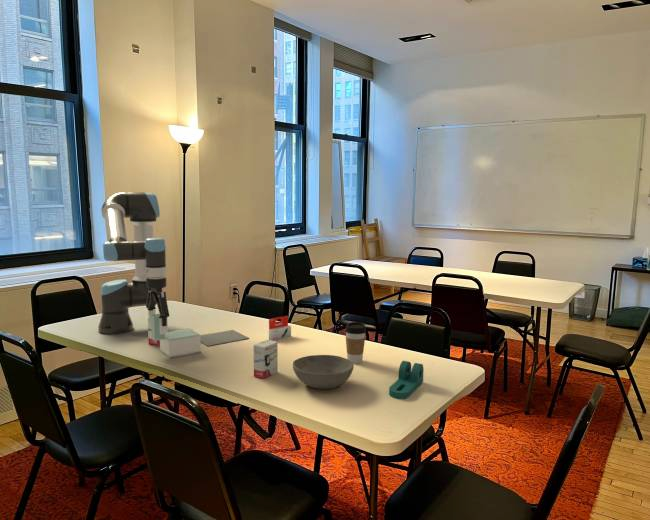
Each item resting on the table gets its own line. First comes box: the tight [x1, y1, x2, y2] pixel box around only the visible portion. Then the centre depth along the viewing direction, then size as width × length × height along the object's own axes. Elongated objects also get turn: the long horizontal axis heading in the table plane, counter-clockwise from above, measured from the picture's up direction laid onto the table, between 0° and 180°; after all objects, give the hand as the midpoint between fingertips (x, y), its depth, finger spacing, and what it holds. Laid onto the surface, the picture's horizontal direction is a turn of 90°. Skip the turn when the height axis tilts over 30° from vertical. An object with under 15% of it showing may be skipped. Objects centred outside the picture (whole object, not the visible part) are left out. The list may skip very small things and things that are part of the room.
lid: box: [151, 313, 201, 341], centre depth 201 cm, size 11×17×10 cm, turn 127°
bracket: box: [388, 360, 425, 400], centre depth 169 cm, size 18×7×8 cm, turn 151°
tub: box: [159, 336, 202, 359], centre depth 204 cm, size 11×13×7 cm
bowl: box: [292, 354, 355, 390], centre depth 171 cm, size 21×21×8 cm
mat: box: [200, 329, 250, 347], centre depth 224 cm, size 16×20×1 cm
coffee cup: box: [344, 321, 367, 365], centre depth 195 cm, size 8×8×15 cm
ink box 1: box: [147, 320, 169, 346], centre depth 216 cm, size 9×5×12 cm, turn 168°
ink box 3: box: [268, 315, 292, 342], centre depth 225 cm, size 2×11×10 cm, turn 131°
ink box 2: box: [253, 339, 279, 380], centre depth 180 cm, size 9×5×12 cm, turn 148°
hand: (157, 329), depth 198 cm, fingers open, 13 cm apart
